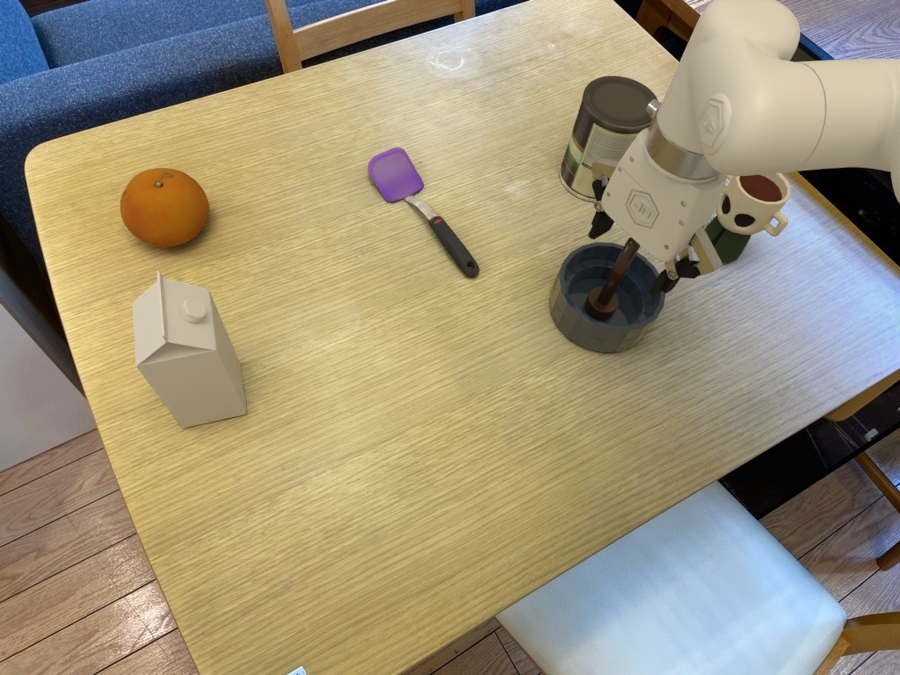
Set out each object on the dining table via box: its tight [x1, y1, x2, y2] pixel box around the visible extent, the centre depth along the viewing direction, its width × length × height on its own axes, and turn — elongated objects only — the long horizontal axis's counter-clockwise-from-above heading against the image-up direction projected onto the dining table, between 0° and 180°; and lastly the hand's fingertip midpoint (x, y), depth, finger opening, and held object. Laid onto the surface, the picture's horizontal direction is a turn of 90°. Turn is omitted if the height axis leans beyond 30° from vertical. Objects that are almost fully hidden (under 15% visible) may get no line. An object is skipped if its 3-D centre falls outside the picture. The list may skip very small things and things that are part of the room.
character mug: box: [705, 173, 792, 265], centre depth 84 cm, size 11×7×13 cm, turn 36°
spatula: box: [367, 146, 481, 278], centre depth 87 cm, size 24×7×2 cm, turn 34°
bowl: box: [549, 241, 667, 353], centre depth 80 cm, size 13×13×6 cm
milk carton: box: [131, 270, 248, 429], centre depth 64 cm, size 7×7×19 cm
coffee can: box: [558, 75, 659, 203], centre depth 89 cm, size 10×10×14 cm
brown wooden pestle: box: [584, 236, 642, 320], centre depth 76 cm, size 4×4×14 cm
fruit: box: [119, 167, 210, 248], centre depth 80 cm, size 10×10×8 cm
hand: (628, 261), depth 71 cm, fingers open, 9 cm apart
